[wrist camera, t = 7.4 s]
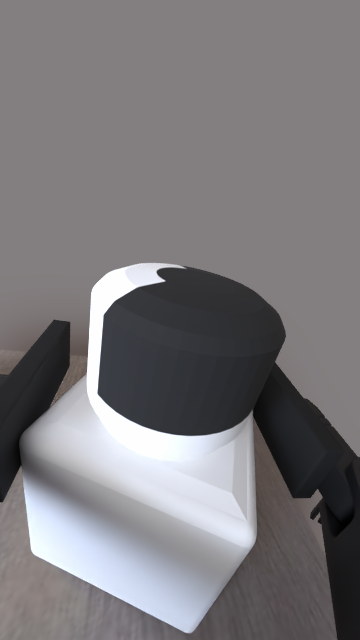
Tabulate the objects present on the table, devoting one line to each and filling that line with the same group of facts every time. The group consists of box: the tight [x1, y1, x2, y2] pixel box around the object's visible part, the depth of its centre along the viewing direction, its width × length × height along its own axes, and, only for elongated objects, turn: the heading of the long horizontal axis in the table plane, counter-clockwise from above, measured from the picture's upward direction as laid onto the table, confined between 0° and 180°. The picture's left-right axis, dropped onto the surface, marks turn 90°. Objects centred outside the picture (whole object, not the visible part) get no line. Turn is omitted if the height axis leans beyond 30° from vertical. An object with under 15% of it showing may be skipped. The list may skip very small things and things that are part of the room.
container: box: [19, 263, 286, 633], centre depth 11 cm, size 8×8×13 cm
